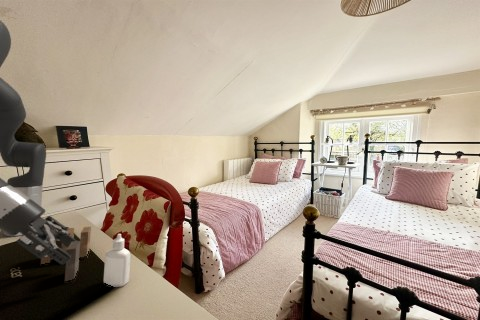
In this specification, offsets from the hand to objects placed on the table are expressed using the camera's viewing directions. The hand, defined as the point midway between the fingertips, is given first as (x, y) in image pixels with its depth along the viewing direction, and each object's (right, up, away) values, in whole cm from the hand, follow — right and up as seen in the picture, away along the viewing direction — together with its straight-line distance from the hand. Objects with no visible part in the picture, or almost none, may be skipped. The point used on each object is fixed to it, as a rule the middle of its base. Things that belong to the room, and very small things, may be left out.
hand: (71, 253), depth 53 cm
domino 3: (-5, -6, +11) cm, 13 cm away
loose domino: (0, -6, 0) cm, 6 cm away
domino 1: (-12, -5, +7) cm, 15 cm away
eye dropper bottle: (+12, -7, -1) cm, 14 cm away
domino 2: (-9, -5, +9) cm, 14 cm away
